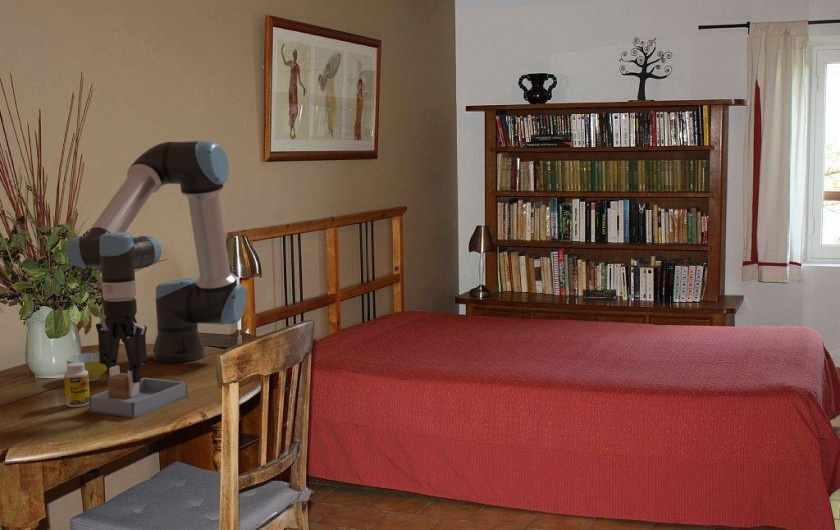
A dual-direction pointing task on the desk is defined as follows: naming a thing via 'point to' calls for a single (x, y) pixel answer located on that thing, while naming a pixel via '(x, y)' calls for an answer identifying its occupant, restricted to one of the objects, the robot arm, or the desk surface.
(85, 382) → the supplement bottle
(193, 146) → the robot arm
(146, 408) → the tray
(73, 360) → the bowl
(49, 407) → the desk surface
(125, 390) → the walnut cube
